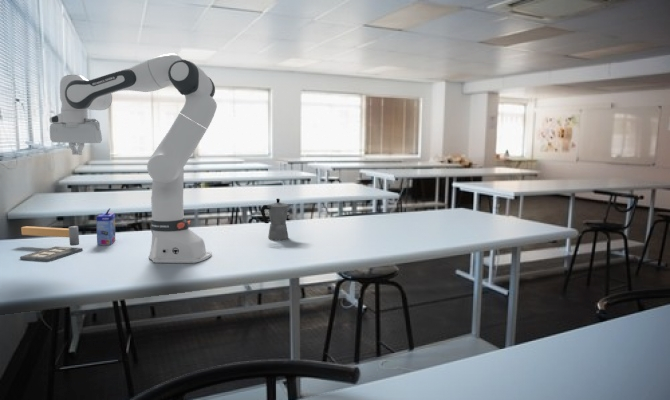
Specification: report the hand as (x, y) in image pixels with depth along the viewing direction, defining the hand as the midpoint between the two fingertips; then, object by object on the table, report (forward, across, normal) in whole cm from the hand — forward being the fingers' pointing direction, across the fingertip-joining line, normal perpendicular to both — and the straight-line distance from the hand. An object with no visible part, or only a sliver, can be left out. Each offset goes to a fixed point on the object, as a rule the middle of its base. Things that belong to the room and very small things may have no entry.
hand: (77, 154), depth 172 cm
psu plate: (+37, +3, +12) cm, 39 cm away
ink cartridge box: (+37, -3, -10) cm, 39 cm away
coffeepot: (+37, -69, -35) cm, 86 cm away
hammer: (+36, +14, +1) cm, 38 cm away
